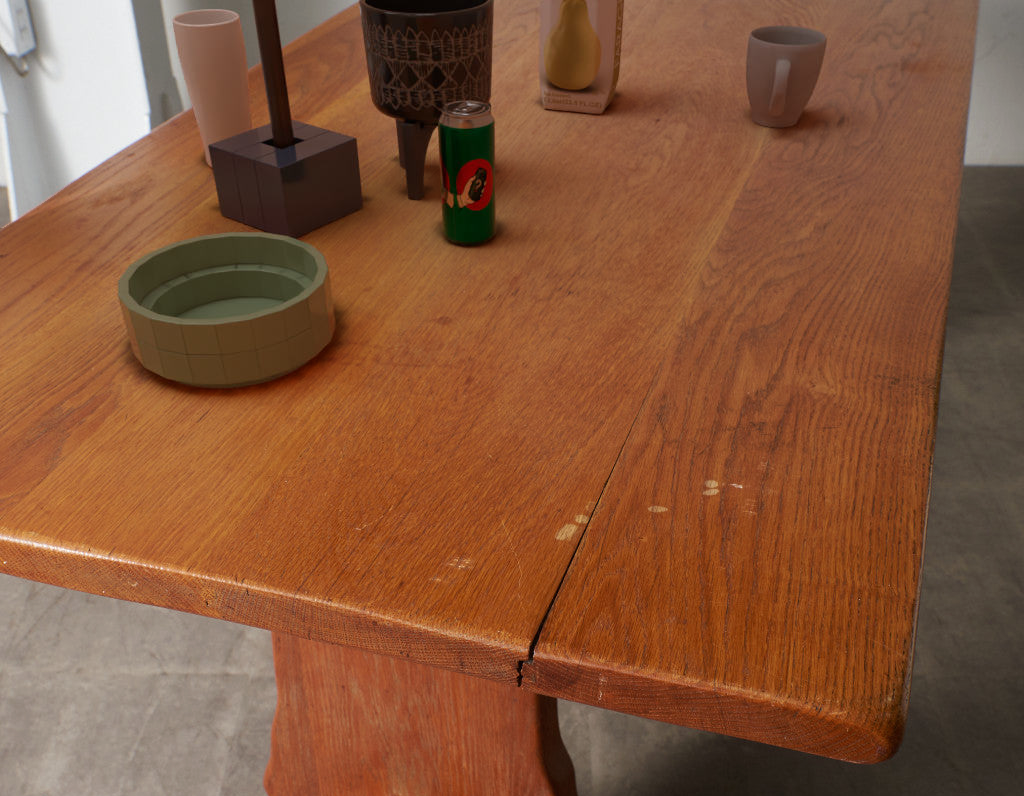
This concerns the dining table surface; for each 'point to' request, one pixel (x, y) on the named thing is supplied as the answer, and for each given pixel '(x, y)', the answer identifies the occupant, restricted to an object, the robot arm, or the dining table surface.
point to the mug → (782, 72)
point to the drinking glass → (214, 72)
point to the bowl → (228, 308)
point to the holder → (287, 179)
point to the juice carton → (579, 53)
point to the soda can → (467, 172)
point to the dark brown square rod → (273, 72)
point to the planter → (425, 67)
